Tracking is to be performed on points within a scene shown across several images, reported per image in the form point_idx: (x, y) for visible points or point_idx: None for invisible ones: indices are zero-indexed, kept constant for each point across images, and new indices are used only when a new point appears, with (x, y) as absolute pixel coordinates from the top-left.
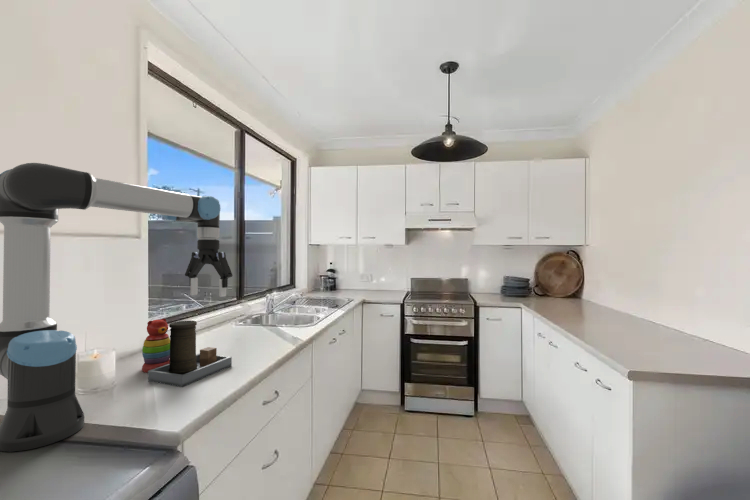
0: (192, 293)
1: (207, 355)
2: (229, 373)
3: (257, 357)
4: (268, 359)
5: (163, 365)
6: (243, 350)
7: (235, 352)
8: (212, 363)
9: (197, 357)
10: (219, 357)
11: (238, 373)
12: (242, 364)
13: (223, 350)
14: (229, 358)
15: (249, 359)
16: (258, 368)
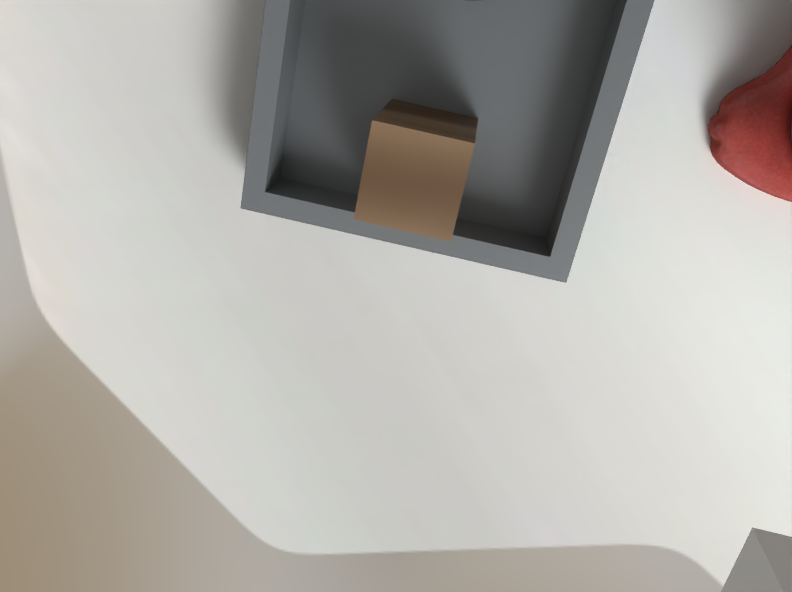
0: (763, 578)
1: (387, 115)
2: (177, 28)
3: (199, 394)
4: (99, 358)
5: (789, 62)
6: (392, 536)
7: (424, 491)
8: (281, 10)
9: (558, 219)
10: (349, 208)
11: (113, 38)
12: (209, 236)
13: (543, 531)
14: (244, 182)
15: (228, 348)
16: (46, 164)
